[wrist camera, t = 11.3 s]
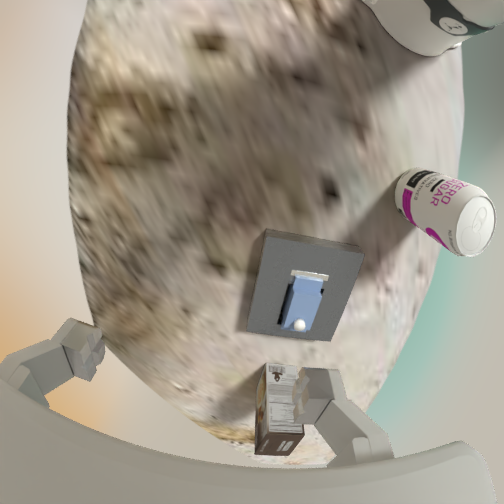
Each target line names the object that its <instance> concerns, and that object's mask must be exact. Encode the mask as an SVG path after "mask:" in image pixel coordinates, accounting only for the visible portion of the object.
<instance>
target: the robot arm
mask: <svg viewBox="0 0 504 504" xmlns="http://www.w3.org/2000/svg"><path fill="white" fill-rule="evenodd" d="M362 1H363V2H364V3H365V4H366V5H367V6H369V7H370V8H371V9H372V11H373V12H374V13H375V15H376V17H377V18H378V20H379V22H380V23H381V25H382V26H383V27H384V28H385V30H386V31H387V32H388V33H389V34H390V35H391V36H392V37H393V38H394V39H395V40H396V41H398V42H399V43H400V44H401V45H403V46H404V47H406V48H408V49H409V50H411V51H413V52H415V53H418V54H421V55H424V56H437V55H440V54H442V53H443V52H444V51H446V50H447V49H448V48H456V47H458V46H460V45H461V42H462V41H464V40H466V39H468V38H470V37H472V36H474V35H477V34H480V33H485V32H488V31H489V30H492V29H493V28H494V27H495V25H498V24H503V23H504V0H362ZM101 337H102V331H101V329H100V328H98V327H95V326H92V325H89V324H87V323H84V322H81V321H78V320H75V319H73V318H70V319H68V320H67V321H66V322H65V323H64V324H63V325H62V327H61V328H60V329H59V330H58V331H57V333H56V334H55V335H54V336H53V338H52V339H51V340H49V339H47V340H45V341H42V342H40V343H37V344H35V345H32V346H30V347H27V348H24V349H22V350H19V351H17V352H14V353H12V354H9V355H7V357H6V358H5V359H4V360H3V361H2V363H1V364H0V504H497V501H496V496H495V491H494V487H493V483H492V479H491V476H490V473H489V469H488V466H487V464H486V461H485V459H484V457H483V456H482V455H481V454H480V453H479V452H478V451H477V450H475V449H474V448H473V447H471V446H470V445H469V444H467V443H465V442H463V441H455V442H452V443H449V444H446V445H443V446H440V447H437V448H434V449H430V450H427V451H423V452H420V453H415V454H412V455H407V456H403V457H399V458H394V455H393V451H392V447H391V444H390V441H389V437H388V434H387V433H386V432H385V431H384V430H383V429H382V428H381V427H380V426H378V425H377V424H376V423H375V422H374V421H373V420H372V419H370V417H369V416H368V415H366V414H365V413H364V412H363V411H362V410H361V409H360V408H359V407H358V406H357V405H356V404H355V403H354V402H352V401H351V400H347V396H346V392H345V388H344V385H343V381H342V378H341V374H340V371H339V370H338V369H322V368H306V367H302V368H301V370H300V372H299V379H297V380H296V381H295V383H294V385H293V390H292V402H293V403H294V404H295V405H296V406H295V408H294V410H293V416H294V424H312V425H314V426H315V427H316V429H317V430H318V431H319V433H320V434H321V435H322V437H323V438H324V439H325V441H326V442H327V443H328V445H329V446H330V447H331V448H332V450H333V451H334V452H335V454H336V455H337V456H336V457H335V458H334V459H333V460H332V461H331V462H330V463H328V465H327V468H308V469H307V468H306V469H281V468H259V467H245V466H236V465H227V464H220V463H212V462H206V461H201V460H195V459H190V458H185V457H180V456H176V455H171V454H167V453H163V452H159V451H156V450H152V449H148V448H145V447H141V446H138V445H135V444H132V443H128V442H126V441H122V440H120V439H117V438H114V437H111V436H109V435H106V434H104V433H101V432H99V431H96V430H94V429H91V428H89V427H86V426H84V425H82V424H80V423H77V422H75V421H73V420H71V419H69V418H67V417H65V416H63V415H60V414H59V413H56V412H55V411H53V410H51V409H49V403H48V401H47V400H46V398H45V397H44V395H45V394H47V393H49V392H50V391H52V390H53V389H55V388H57V387H58V386H60V385H61V384H63V383H65V382H66V381H68V380H69V379H71V378H73V377H74V376H76V377H79V378H81V379H84V380H87V381H91V380H92V378H93V376H94V374H95V373H96V366H97V365H98V364H100V363H101V362H102V360H103V358H104V354H105V344H104V342H103V341H102V340H101Z"/></svg>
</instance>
